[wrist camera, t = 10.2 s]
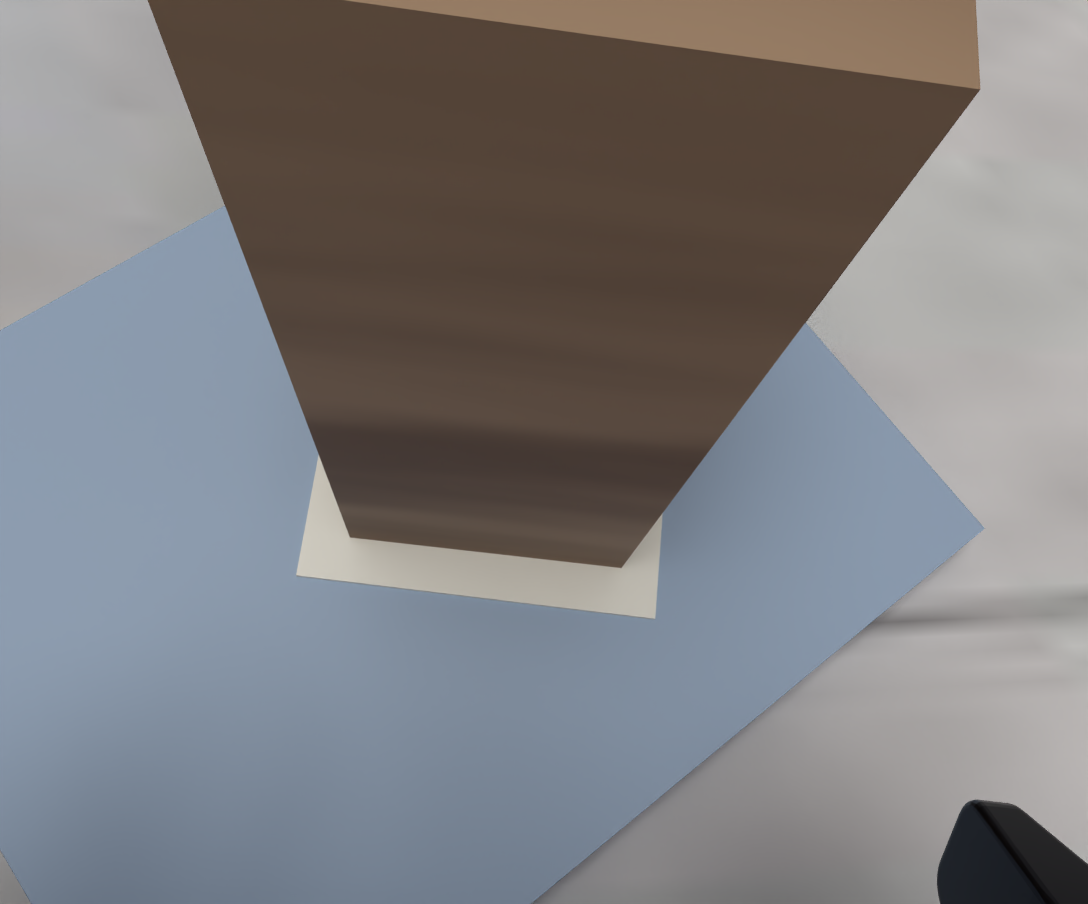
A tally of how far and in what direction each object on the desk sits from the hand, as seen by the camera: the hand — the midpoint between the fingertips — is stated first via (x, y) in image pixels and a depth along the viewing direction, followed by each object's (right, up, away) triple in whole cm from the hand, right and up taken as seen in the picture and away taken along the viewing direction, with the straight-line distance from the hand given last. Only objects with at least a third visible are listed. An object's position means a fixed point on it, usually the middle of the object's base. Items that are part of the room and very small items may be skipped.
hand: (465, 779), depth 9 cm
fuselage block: (0, +3, +9) cm, 10 cm away
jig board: (-2, +2, +10) cm, 10 cm away
